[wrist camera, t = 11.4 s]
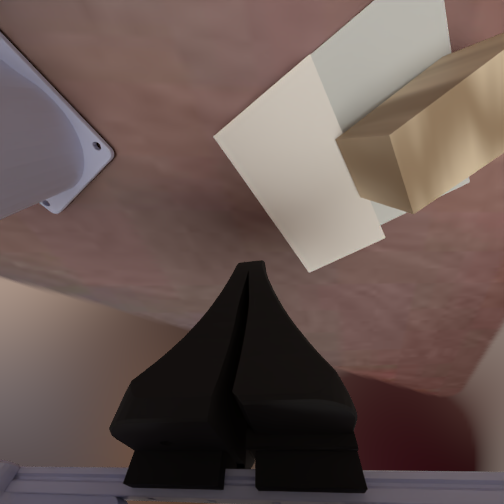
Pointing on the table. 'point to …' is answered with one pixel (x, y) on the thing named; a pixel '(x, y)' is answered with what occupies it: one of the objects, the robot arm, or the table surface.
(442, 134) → the beech block
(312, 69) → the step
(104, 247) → the table surface
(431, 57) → the mat
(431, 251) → the table surface
